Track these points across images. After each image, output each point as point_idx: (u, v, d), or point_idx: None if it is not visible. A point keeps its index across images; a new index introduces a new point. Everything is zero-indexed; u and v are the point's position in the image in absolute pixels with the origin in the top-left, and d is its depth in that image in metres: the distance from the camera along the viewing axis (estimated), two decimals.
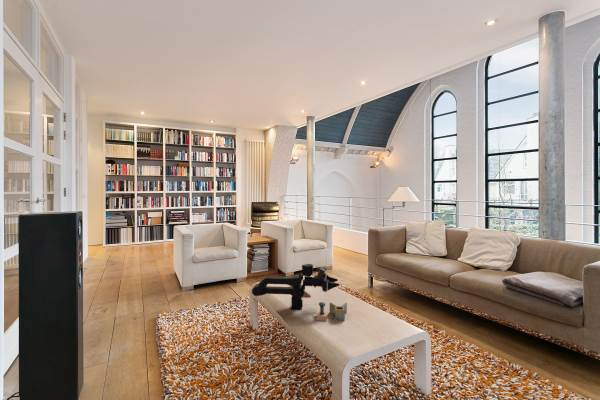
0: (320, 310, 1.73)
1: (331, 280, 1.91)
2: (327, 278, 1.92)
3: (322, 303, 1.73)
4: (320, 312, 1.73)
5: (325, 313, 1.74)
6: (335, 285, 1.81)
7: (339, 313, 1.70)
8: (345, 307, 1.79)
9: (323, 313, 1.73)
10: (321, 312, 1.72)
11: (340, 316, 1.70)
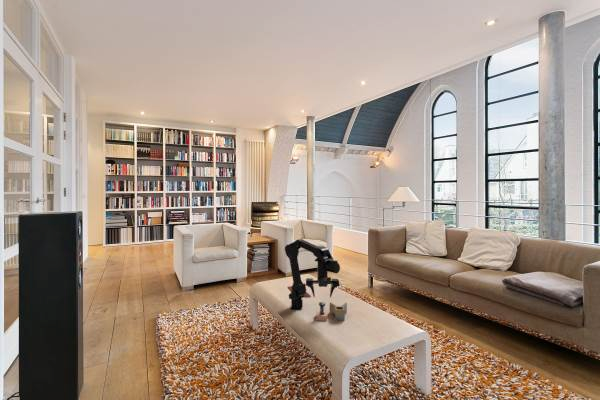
0: (320, 310, 1.73)
1: (330, 290, 1.73)
2: (331, 286, 1.72)
3: (322, 303, 1.73)
4: (320, 312, 1.73)
5: (325, 313, 1.74)
6: None
7: (339, 313, 1.70)
8: (345, 307, 1.79)
9: (323, 313, 1.73)
10: (321, 312, 1.72)
11: (340, 316, 1.70)
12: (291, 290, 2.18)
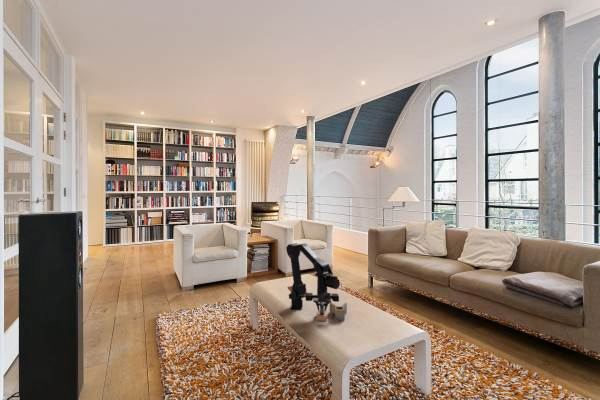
0: (320, 310, 1.73)
1: (325, 305, 1.74)
2: None
3: (322, 303, 1.73)
4: (320, 312, 1.73)
5: (325, 313, 1.74)
6: None
7: (339, 313, 1.70)
8: (345, 307, 1.79)
9: (323, 313, 1.73)
10: (321, 312, 1.72)
11: (340, 316, 1.70)
12: (291, 290, 2.18)
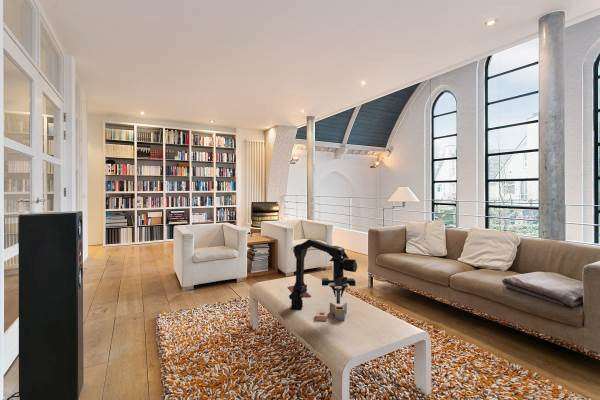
0: (336, 295, 1.72)
1: (341, 290, 1.73)
2: None
3: (338, 288, 1.72)
4: (336, 297, 1.72)
5: (325, 313, 1.74)
6: None
7: (339, 313, 1.70)
8: (345, 307, 1.79)
9: (339, 298, 1.72)
10: (337, 297, 1.71)
11: (340, 316, 1.70)
12: (291, 290, 2.18)
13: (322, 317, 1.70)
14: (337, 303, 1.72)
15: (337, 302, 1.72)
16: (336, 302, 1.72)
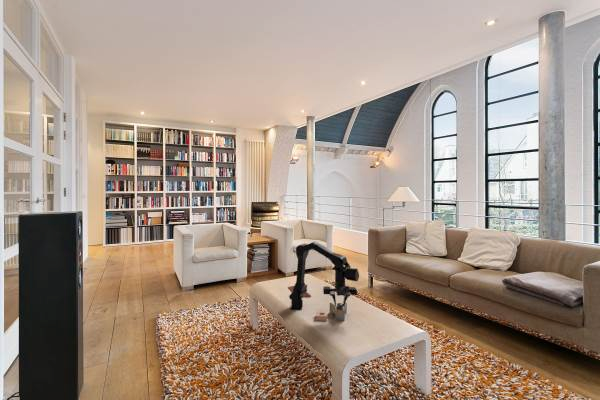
0: None
1: (344, 298, 1.73)
2: (344, 295, 1.72)
3: (340, 304, 1.73)
4: None
5: (325, 313, 1.74)
6: (334, 301, 1.73)
7: (339, 313, 1.70)
8: (345, 307, 1.79)
9: None
10: None
11: (340, 316, 1.70)
12: (291, 290, 2.18)
13: (322, 317, 1.70)
14: None
15: None
16: None
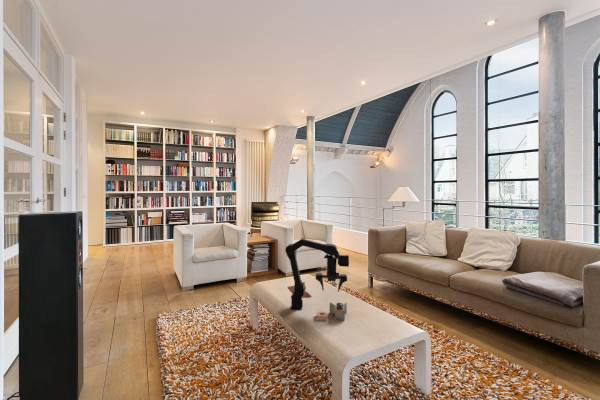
0: None
1: None
2: (339, 281, 1.83)
3: (340, 304, 1.73)
4: None
5: (325, 313, 1.74)
6: None
7: (339, 313, 1.70)
8: (345, 307, 1.79)
9: None
10: None
11: (340, 316, 1.70)
12: (291, 290, 2.18)
13: (322, 317, 1.70)
14: None
15: None
16: None
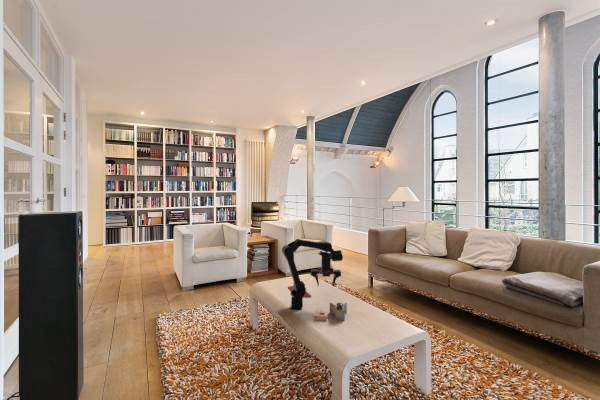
0: None
1: (333, 280, 1.93)
2: (333, 276, 1.92)
3: (340, 304, 1.73)
4: None
5: (325, 313, 1.74)
6: (317, 282, 1.93)
7: (339, 313, 1.70)
8: (345, 307, 1.79)
9: None
10: None
11: (340, 316, 1.70)
12: (291, 290, 2.18)
13: (322, 317, 1.70)
14: None
15: None
16: None
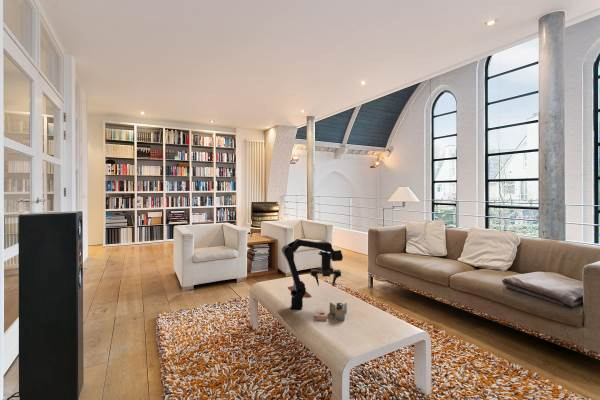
0: None
1: (333, 280, 1.93)
2: (333, 276, 1.92)
3: (340, 304, 1.73)
4: None
5: (325, 313, 1.74)
6: (317, 282, 1.93)
7: (339, 313, 1.70)
8: (345, 307, 1.79)
9: None
10: None
11: (340, 316, 1.70)
12: (291, 290, 2.18)
13: (322, 317, 1.70)
14: None
15: None
16: None
